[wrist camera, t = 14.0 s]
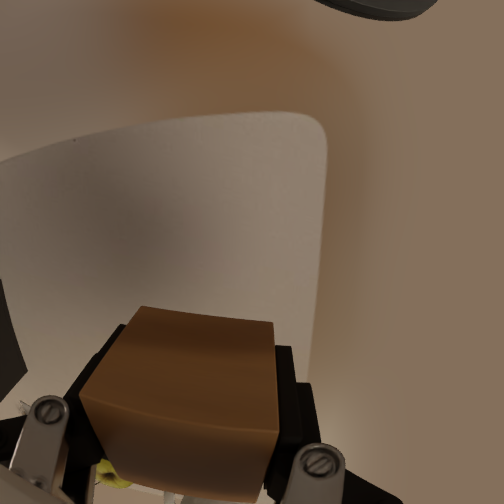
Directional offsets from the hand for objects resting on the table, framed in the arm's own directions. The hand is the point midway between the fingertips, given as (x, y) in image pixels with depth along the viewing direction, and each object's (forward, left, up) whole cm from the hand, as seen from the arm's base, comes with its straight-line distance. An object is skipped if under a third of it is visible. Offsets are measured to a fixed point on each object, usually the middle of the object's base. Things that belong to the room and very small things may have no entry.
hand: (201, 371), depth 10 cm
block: (0, 0, 0) cm, 0 cm away
